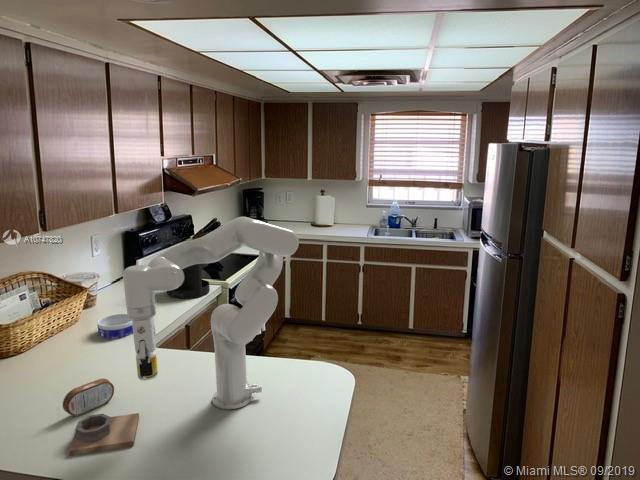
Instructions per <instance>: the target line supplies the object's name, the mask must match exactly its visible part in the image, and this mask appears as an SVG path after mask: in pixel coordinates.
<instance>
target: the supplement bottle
mask: <svg viewBox="0 0 640 480" xmlns="http://www.w3.org/2000/svg"><path fill="white" fill-rule="evenodd" d="M146 351H148V349H146V350H145V352H146ZM146 356H147V357H148V354H146ZM157 360H158V359H157V352H156V350H155V351H154V352H150V361H152V371H153V375H151V376H143V377H141V376H140V367H139V354H137V353H135V361H136V369H137V370H136V372H137V378H138V379H139V380H140V381H149V380H153V379H156V378H157V376H158V375H159V371H158V361H157Z"/></svg>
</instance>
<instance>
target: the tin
mask: <svg viewBox="0 0 640 480" xmlns="http://www.w3.org/2000/svg"><path fill="white" fill-rule="evenodd" d="M114 393H115V386H114V384H113V383H112V382H111V381H110V380H109V379H106V378H97V379H96V380H94V381H93V380H92V381H90V382H88V383H86V384H82V385H80V386H77V387H75V388H73V389H71V390H70V391H68V393H67V394H65V396H64V398H63V401H62V408H63V410H64V411H65V413H67V414H68V415H70V416H74V417H78V416H81V415H83V414H87V413H88V412H91V411H93V410H95V409H98V408H100V407H103V406H105V405H106V404H107V403H109V402H110V401H111V400H112V398H113V397H114Z"/></svg>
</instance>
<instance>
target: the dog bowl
mask: <svg viewBox="0 0 640 480" xmlns="http://www.w3.org/2000/svg"><path fill="white" fill-rule="evenodd" d="M96 323H97V325H96V326H97V331H98V337H99V338H101V339H103V338H104V340H117V338H118V339H123V338H127V337H129V336H131V335H133V324H132V320H131V319H128V317H127V313H113V314H110V315H107V316H104V317H101V318H100V319H98V320H97V321H96ZM126 336H127V337H126ZM122 337H123V338H122Z"/></svg>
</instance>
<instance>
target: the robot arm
mask: <svg viewBox="0 0 640 480" xmlns="http://www.w3.org/2000/svg"><path fill="white" fill-rule="evenodd" d="M244 246H245V247H246V248H249V249H252V250H254V251H258V257H257V260H256V262H255V264H254V265H253V266H252V267H251V269H250V270H249V271H248V273H247V274H246V275H245V277H244V278H243V279H242V280H241V281H240V283H239V284H238V285H237V287H236V289H235V292H234V297H235V299H236V302H237V303H239V305H241V306H242V307H241V308H239V307H238V306H237V305H235V304H231V303H223V304H220V305H218V306H217V307H215V309H213V311H212V314H211V316H210V327H211V333H212V339H213V346H214V360H215V361H214V362H215V365H214V367H215V381H216V383H215V384H216V392H214V393H213V395H212V404H213V405H214V406H215V407H216V408H218V409H221V410H236V409H240V408H242V407H245V406H247V405H248V404H249V403H250V402H251V401H252V400H253V394H255V393H262V392H263V391H262V388H263V387H262V385H259V386H258V385H257V383H253V384H252V383H251V384H250V383H248V380H247V379H248V378H247V357H246V356H247V355H246V345H247V344H249V343H250V342H251V341H252V340H254V338H255V337H256V336H257V335H258V333H260V331H261V330H262V329H263V327H264V326H265V324H266V323H267V322H268V320H269V319H270V318H271V316H272V315H273V313H274V312H275V310H276V308H277V305H278V302H279V295H278V292H277V290H276V289H275V288H274V287H273V285H274V284H275V282H276V281H277V279H278V278H279V276H280V275H281V272H282V269H283V265H284V258H283V257H290V256H292V255H294V254H295V253H296V251H298V248H299V237H298V235H297V234H296V232H294V231H293V230H291V229H288V228H284V227H281V226H278V225H274V224H270V223H267V222H264V221H262V220H258V219H254V218H251V217H249V216H248V217H247V216H239V217H236V218H234V219H232V220H230V221H228V222H227V223H224V224H223V225H221V226H219V227H218V228H216V229H214V230H212V231H210V232H209V233H207V234H205V235H203V236H201V237H198V238H194V239H192V240H188V241H186V242H183V243H180V244H178V245H175V246H174V247H173V246H172V247H170V248H169V249H167V250H166V251H164V252H161V253H160V254H159V255H157V256H155V257H154V258H152V259H151V260H150V261H149V263H148V265H145V264H136V265H135V264H134V265H131V266H128V267H126V268H125V269H124V270H123V271H122V272H123V273H122V279H123V288H124V296H125V297H124V298H125V305H126V314H127V317H128V319H131V320H132V324H133V334H132V335H133V342H134V349H135V354H139V367H140V376H141V377H143V376H151V375H153V371H152V361H150V352H154V351H155V352H156V347H157V332H156V325H155V324H156V323H155V319H154V317H155V316H156V315H157V305H156V297H155V296H156V295H155V292H164V291H165V292H166V291H168V290H174V289H176V288H178V287H179V286H181V284H182V283H183V281H184V273H183V271H182V269H184V268H186V267H188V266H191V265H195V264H203V263H208V264H214V263H217V262H219V261H221V260H222V259H224V258H226V257H227V256H229V255H230V254H232V253H235V252H236V251H237V250H240V249H241V248H242V247H244ZM146 349H148V351H146V352H145V350H146ZM146 354H148V357H147V356H146Z"/></svg>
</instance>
